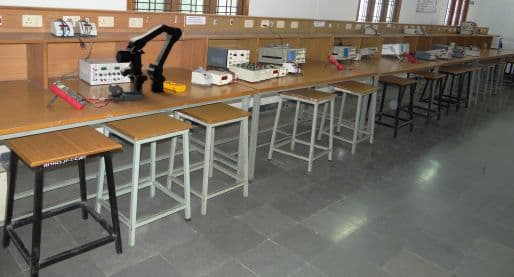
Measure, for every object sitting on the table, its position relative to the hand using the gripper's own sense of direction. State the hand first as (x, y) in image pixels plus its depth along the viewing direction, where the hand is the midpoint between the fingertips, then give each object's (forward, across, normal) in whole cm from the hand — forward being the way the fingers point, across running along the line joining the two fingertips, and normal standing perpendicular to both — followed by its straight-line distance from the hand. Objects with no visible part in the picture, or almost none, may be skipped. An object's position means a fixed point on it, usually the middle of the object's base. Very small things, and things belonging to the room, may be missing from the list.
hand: (136, 90), depth 233 cm
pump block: (+2, 0, 0) cm, 2 cm away
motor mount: (+1, +10, -10) cm, 14 cm away
